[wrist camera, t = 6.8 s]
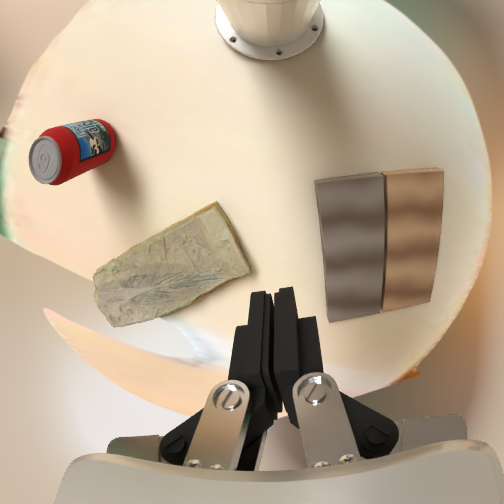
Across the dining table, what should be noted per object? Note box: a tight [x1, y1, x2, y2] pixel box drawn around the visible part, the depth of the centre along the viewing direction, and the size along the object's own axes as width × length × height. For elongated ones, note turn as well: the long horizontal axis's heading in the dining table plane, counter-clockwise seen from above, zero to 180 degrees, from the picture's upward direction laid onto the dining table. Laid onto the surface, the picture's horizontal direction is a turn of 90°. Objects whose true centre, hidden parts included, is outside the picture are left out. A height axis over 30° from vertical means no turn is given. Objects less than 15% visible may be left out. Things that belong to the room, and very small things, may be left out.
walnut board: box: [381, 168, 444, 312], centre depth 36 cm, size 22×9×2 cm, turn 12°
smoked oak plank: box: [314, 173, 385, 323], centre depth 37 cm, size 22×9×2 cm, turn 12°
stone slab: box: [93, 201, 251, 327], centre depth 41 cm, size 12×4×30 cm
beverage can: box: [29, 119, 115, 185], centre depth 27 cm, size 7×7×12 cm
